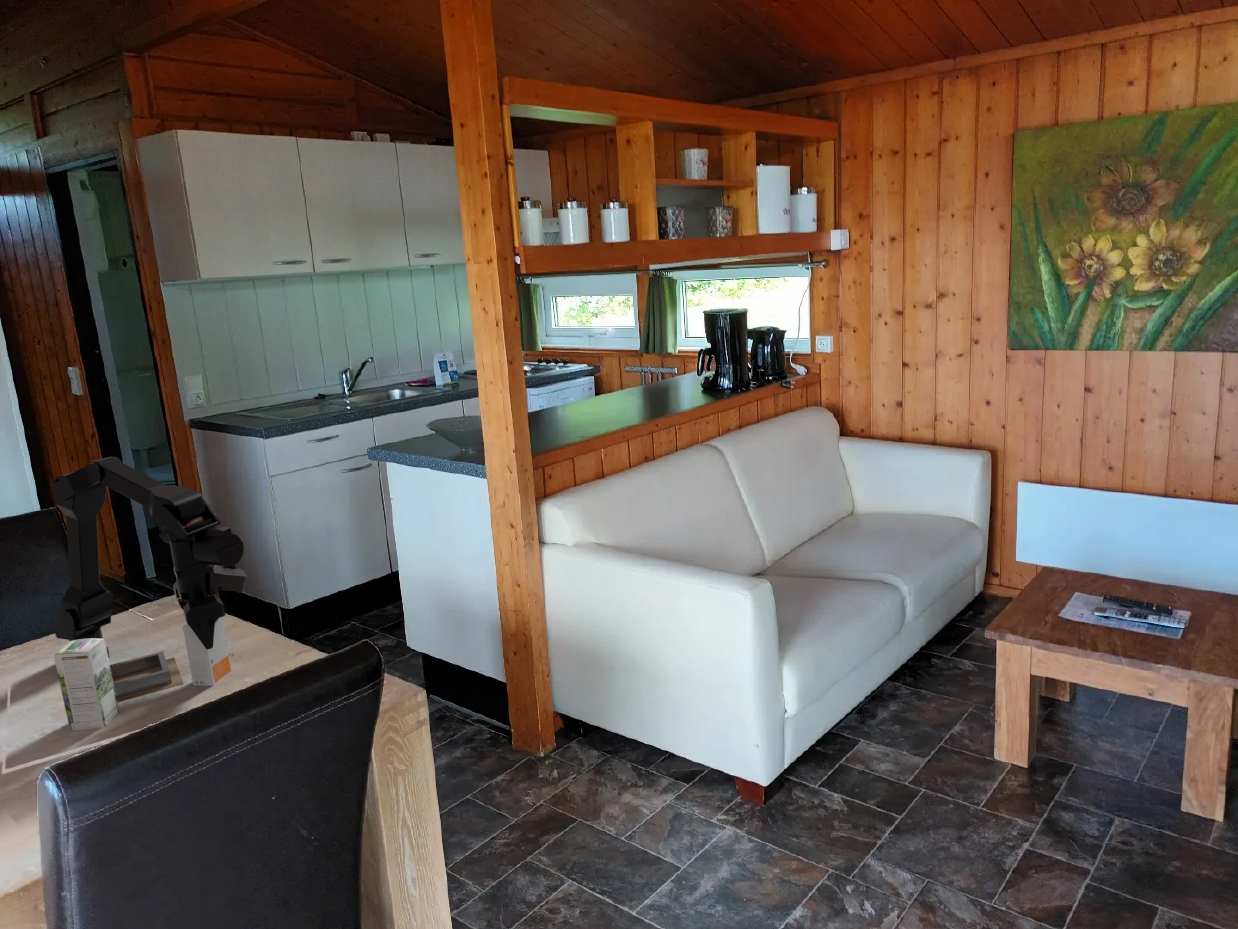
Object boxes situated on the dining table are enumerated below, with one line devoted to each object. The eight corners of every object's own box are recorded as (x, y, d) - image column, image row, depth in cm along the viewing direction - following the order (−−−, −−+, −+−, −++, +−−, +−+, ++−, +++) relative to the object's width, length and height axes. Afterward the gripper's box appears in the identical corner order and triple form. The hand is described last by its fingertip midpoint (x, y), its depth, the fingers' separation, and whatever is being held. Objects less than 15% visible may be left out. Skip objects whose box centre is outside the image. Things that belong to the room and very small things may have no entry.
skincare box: (213, 687, 166) (202, 626, 164) (193, 687, 167) (181, 626, 164) (233, 672, 172) (222, 612, 169) (213, 671, 173) (202, 612, 170)
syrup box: (86, 717, 159) (68, 639, 156) (121, 713, 160) (104, 636, 156) (70, 734, 154) (51, 654, 150) (106, 730, 154) (88, 650, 151)
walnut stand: (93, 681, 173) (93, 678, 173) (174, 660, 180) (174, 657, 180) (97, 711, 161) (97, 708, 161) (184, 686, 168) (183, 683, 168)
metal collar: (104, 679, 172) (101, 667, 172) (165, 663, 177) (163, 651, 177) (107, 701, 163) (104, 688, 163) (172, 683, 169) (169, 670, 168)
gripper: (248, 564, 160) (262, 646, 164) (230, 538, 176) (243, 614, 180) (178, 580, 155) (195, 665, 159) (166, 552, 170) (181, 629, 174)
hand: (206, 641), depth 168 cm, fingers closed on skincare box, 7 cm apart
